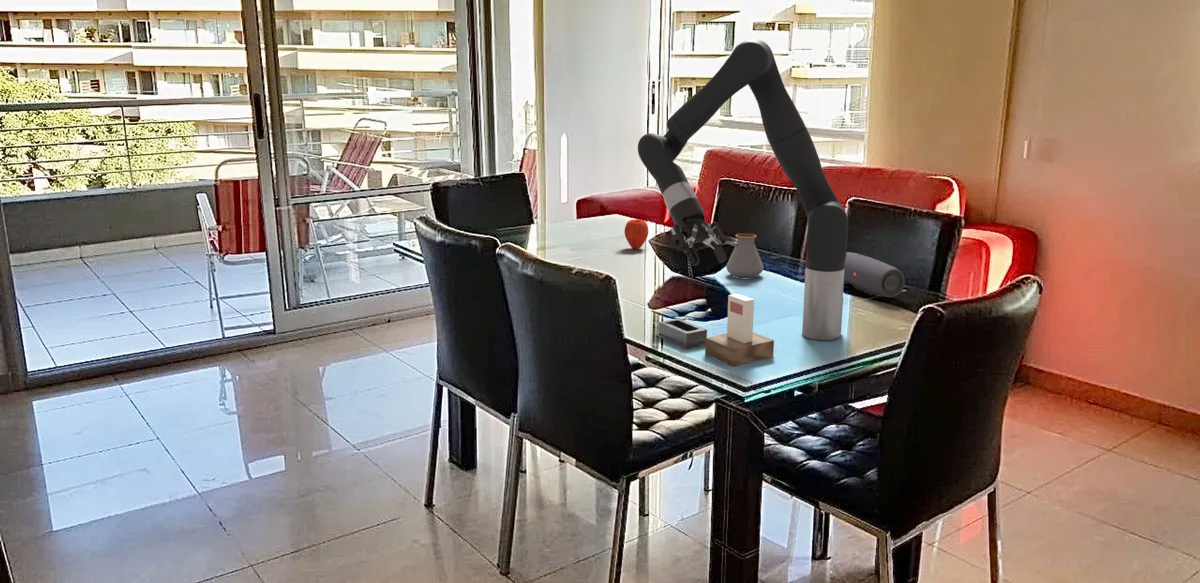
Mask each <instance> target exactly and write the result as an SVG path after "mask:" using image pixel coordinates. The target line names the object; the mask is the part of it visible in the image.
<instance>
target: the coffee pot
mask: <svg viewBox="0 0 1200 583" xmlns="http://www.w3.org/2000/svg"><path fill="white" fill-rule="evenodd" d="M707 238H710V236H709V235H708V237H707ZM718 238H719V240H721V239H720V237H718ZM735 238H736V240H737V242H736V243H734V242H731V241H728V240H726V242H725V243H724V244H727V245H730V246H732V247H734V249H733V251H732V253H731V254H730V257H729V259H728V261H727V263H726V266H725V268H726V270H727V272H728V274H730V275H731V276H732V275H733V276H735V277H738V278H737V279H739V278H752V279H756V278H758V276H759V275H760V274H761V273H762V272H763V270H764V265H763V264H764V263H763V262H762V259H761V257H760V255H759V252H758V249H757V247H756V244H755V240H756V238H757V235H756V234H753V233H737V234H735ZM733 276H732V277H733ZM735 277H734V278H735ZM755 277H756V278H755Z"/></svg>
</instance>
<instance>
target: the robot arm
mask: <svg viewBox="0 0 1200 583" xmlns="http://www.w3.org/2000/svg"><path fill="white" fill-rule="evenodd" d="M784 84H785V83H784V82H783V79H782V76H781V74H780V71H779V68H778V65H777V62H776V60H775V55H774V53H773V50H772V49H771V47H770V46H769V44H768V43H766V42H765V41H763V40H761V39H760V38H750V39H747V40H744V41H741V42H740V43H739V44H738V45H736V46H735V47H734V49H733V51H732V52H731V54H730V55H729V56H728V58H727V59H726V60H725V62H724V63H723V64H722V66H721V67H720V68H719V70H717V72H716V73H715V74H714V75H713V76H712V77H711V78H710V80H709V81H708V82H707V83H706V84H705V85H704V86H702V87H701V89H699V90H698V91H697V92H696V93H695V94H693V95H692V96H691V97H690V98H689V99H688V100H687V101H686V102H684V104H682V105H681V107H679V108H678V109H677V110H676V111H675V112H674V113H673V114H672V115H671V116H670V117H669V119H668V120H667V122H666V127H667V132H665V134H664V135H659V134H657V133H652V132H651V133H650V132H649V133H646V134H644V135H643V136H641V137H640V138H639V141H638V143H637V153H638V156H639V159H640V161H641V162H642V164H643V166H644V167H645V168H646V170H647V171H648V172H649V174H650V175H651V176H652V177H653V179H654V180H655V182H656V183H657V187H658V188H659V191H660V194H661V195H662V197H663V200H664V204H665V206H666V209H667V210H668V213H669V215H670V217H671V219H672V221H673V223H674V225H673V226H672V227H671V228H670V229H669V230H668V231H669V233H670V236H671V239H672V242H673V244H674V246H675V249H676V251H677V252H684V254H686V256H687V258H688V260H689V263H690V264H691V265H692V266H693V267H695V266H696V267H697V266H698V265H699V264H700V263H701V259H700V257H699V255H698V253H697V250H696V248H695V247H694V244H696V243H703V244H704V245H705V246H709V247H710V248H711V249H712V250H713V253H714V255H715V256H716V259H717V262H718V263H720V264H721V263H723V264H724V262H725V261H726V260H727V254H726V252H725V250H724V248H723V245H724V244H726V243H725V242H726V241H727V239H726V237H725V234H724V233H723V231H722V229H721V228H720V226H719V223H718V222H717V221H715V220H714V221H712V223H708V222H707V221H706V220H705V215H706V214H705V212H704V210H703V206H702V205H701V203H700V200H699V199H698V197H697V194H696V192H695V191H694V189H693V188H692V185H690V183H689V181H688V179H687V176H686V174H685V172H684V171H683V169H682V168H681V167H680V165H678V164H677V163H675V160H676V159H677V158H678V156H679V155H680V154H681V152H682V151H683V149H684V148H685V146H686V144H688V141H689V140H690V139H691V138H692V137H693V136H695V134H696V133H698V131H700V129H702V128H703V127H704V126H705V125H706V124H707V123H708V122H709V120H710V119H712V118H713V117H714V115H715V114H716V113H717V112H718V111H719V110H720V108H721V107H722V106H724V104H725V103H727V101H728V100H729V99H730V98H731V97H733V96H734V95H735V94H736V93H738V92H739V91H740V90H742V89H744V88H745V87H746V86H748V87H749V89H750V90H751V92H752V94H753V95H754V96H753V97H754V98H755V100H756V102H757V105H758V109H759V112H760V117H761V122H762V125H763V128H764V133H765V135H766V138H767V140H768V143H769V146H770V148H771V150H772V152H773V153H774V156H775V158H776V160H777V161H778V163H779V165H780V167H781V169H782V170H783V172H784V174H786V175H785V176H787V178H788V179H789V181H790V182H791V183H792V184H793V186H794V188H795V190H796V192H797V193H798V196H799V199H800V202H801V203H802V206H803V210H804V212H805V215H806V218H807V240H806V241H807V242H806V244H807V245H806V256H805V272H804V273H805V274H804V289H803V290H804V292H803V308H802V309H803V311H802V312H803V313H802V325H801V326H802V327H801V332H802V333H801V334H802V336H803V337H806V338H807V339H809V340H815V341H816V340H817V341H832V340H833V341H834V340H838V339H839V338H841V333H842V325H843V324H842V322H843V309H844V308H843V307H844V306H843V305H844V287H845V286H844V285H845V280H844V270H845V260H846V252H847V251H848V250H847V249H848V239H849V238H848V236H849V219H848V218H849V216H848V214H847V212H846V210H845V208H844V206H843V205H842V204H841V202H840V201H839V199H838V197H837V196H836V194H835V193H834V191H833V189H832V188H831V186H830V184H829V183H828V180H827V178H826V176H825V174H824V171H823V167H822V164H821V160H820V158H819V154H818V152H817V148H816V147H815V144H814V142H813V139H812V137H811V134H810V133H809V131H808V128H807V127H806V124H805V122H804V120H803V118H802V116H801V114H800V112H799V110H798V108H797V107H796V105H795V103H794V101H793V100H792V98H791V96H790V95H789V92H788V91H787V89H786V87H785V85H784ZM708 235H709V236H710V237H708ZM718 237H719V238H720V239H721V240H719V238H718Z"/></svg>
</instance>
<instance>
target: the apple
mask: <svg viewBox="0 0 1200 583" xmlns="http://www.w3.org/2000/svg"><path fill="white" fill-rule="evenodd" d="M648 236H649V228H648V224H647V222H646V221H645V220H644V219H638V218H636V219H630V220H628V221H627V223H625V226H624V237H625V240H626V242H627V243H628V244H629V246H630V248H631V249H633V250H636V249H638V250H639V249H641V248H642V247H643V245H644V244H645V242H646V240H647V238H648Z"/></svg>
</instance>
